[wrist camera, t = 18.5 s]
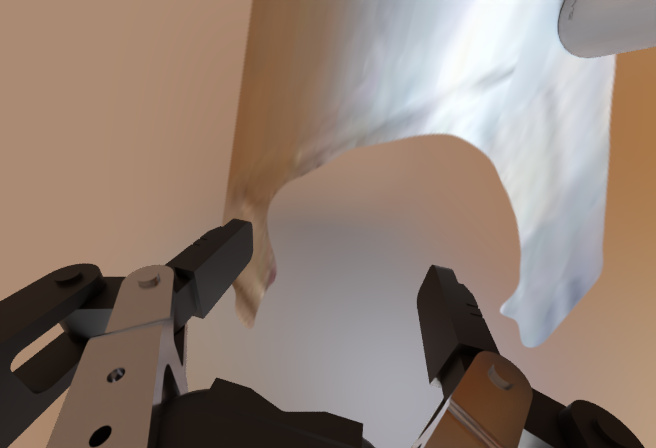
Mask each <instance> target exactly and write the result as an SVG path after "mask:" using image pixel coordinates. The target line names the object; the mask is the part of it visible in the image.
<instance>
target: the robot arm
mask: <svg viewBox="0 0 656 448" xmlns="http://www.w3.org/2000/svg"><path fill="white" fill-rule="evenodd" d="M559 37H560V41H561V43H562V45H563V46H564V48H565V49H566V50H567V51H568V52H570V53H571V54H573V55H575V56H578V57H583V58H594V57H601V56H607V55H612V54H617V53H623V52H629V51H634V50H640V49H646V48H651V47H656V0H565V3H564V5H563V8H562V10H561V14H560V19H559ZM252 254H253V229H252V223H251V222H248V221H244V220H239V219H232V220H231V221H230V222H228V223H227V224H226V225H225V226H223V227H221V226H220V227H217V228H215V229H213V230H210V231H208V232H207V233H206V234H204V235H203V236H202V237H200V239H198V240H197V241H195V242H194V243H193V245H190V246H189V247H187V248H186V249H185V250H184V251H182V252H181V253H180V254H179V255H177V256H176V257H175V258H173V259H172V260H171V261H169V262H168V263H167V264H166V265H152V266H147V267H143V268H140V269H138V270H136V271H134V272H132V273H131V274H129V275H128V276H127V277H103V276H102V273H101V271H100V269H99V267H98V266H96V265H93V264H75V265H71V266H67V267H64V268H61V269H58V270H56V271H54V272H52V273H49V274H48V275H46V276H44V277H42V278H41V279H39V280H37V281H35V282H34V283H32V284H30V285H28V286H27V287H25V288H23V289H21V290H19V291H18V292H16V293H14V294H12V295H11V296H9V297H7V298H5V299H4V300H2V301H0V448H7V447H8V446H9V445H10V444H11V443H12V442H13V441H14V440H15V439H17V437H18V436H20V435H21V434H22V433H23V432H24V430H26V429H27V428H28V427H29V426H30V425H31V424H32V423H33V422H34V420H36V419H37V418H38V417H39V416H40V415H41V414H42V413H43V412H44V411H45V410H46V409H47V408H48V407H49V406H50V405H51V404H52V403H53V402H54V401H55V400H56V399H57V398H58V397H59V396H60V395H61V394H62V393H63V392H64V391H65V390H66V389H67V388H68V387H69V386H70V388H69V390H68V393H67V396H66V398H65V401H64V403H63V406H62V408H61V411H60V413H59V416H58V419H57V421H56V424H55V427H54V429H53V431H52V434H51V436H50V439H49V442H48V444H47V447H46V448H375V447H374V446H373V445H372V444H371V443H370V442H369V441H367V440H366V439H364V438H363V437H362V432H363V424H362V423H359V422H356V421H353V420H350V419H347V418H344V417H340V416H337V415H334V414H331V413H328V412H285V411H281V410H280V409H279V408H277V407H276V406H274V405H273V404H272V403H270V402H269V401H267V400H266V399H265V398H263V397H262V396H261V395H259V394H258V393H256V392H255V391H254V390H252V389H251V388H248V387H245V386H242V385H239V384H235V383H232V382H229V381H226V380H223V379H220V378H216V379H215V381H214V382H213V384H212V386H211V388H210V389H203V390H196V391H192V392H188V387H187V386H188V385H187V378H186V359H187V358H186V357H187V321H188V320H189V319H190V318H191V316H196V317H199V318H202V319H203V318H205V316H206V315H207V314H208V313H209V311H210V310H211V309H212V308H213V306H214V305H215V304H216V303H217V302H218V300H219V299H220V298H221V297H222V295H223V294H224V293H225V292H226V290H227V289H228V288H229V287H230V285H231V284H232V283H233V282H234V280H235V279H236V278H237V277H238V275H239V274H240V273H241V272H242V271H243V269H244V268H245V267H246V266H247V264H248V263H249V262H250V260H251V257H252ZM417 309H418V315H419V321H420V328H421V334H422V340H423V346H424V352H425V358H426V365H427V371H428V377H429V383H430V385H432V386H436V387H439V388H442V390H443V395H444V398H443V399H442V400H441V402H440V403H439V405H438V406H437V408H436V409H435V411H434V412H433V414H432V416H431V417H430V419H429V420H428V422H427V423H426V425H425V427H424V428H423V430H422V432H421V433H420V434H419V436H418V438H417V439H416V441H415V442H414V444H413V445H412V447H411V448H644V446H643V445H642V444H641V442H640V441H639V440H638V438H637V437H636V436H635V435H634V434H633V433H632V432H631V431H630V430H629V429H628V428H627V427H626V426H625V425H624V424H623V423H622V422H621V421H620V420H618V419H617V418H616V417H615V416H613V415H612V414H610V413H609V412H608V411H606V410H605V409H603V408H601V407H599V406H598V405H596V404H594V403H591V402H589V401H585V400H576V401H574V402H573V403H571V404H570V405H568V406H567V407H566V406H564V405H562V404H561V403H559V402H557V401H555V400H553V399H551V398H550V397H548V396H546V395H544V394H542V393H540V392H538V391H536V390H535V389H533V388H531V386H530V383H529V382H528V380H527V378H526V377H525V375H524V374H523V373H522V372H521V371H520V370H519V368H517V367H516V366H515V365H514V364H513V363H512V362H511V361H509V360H508V359H506V358H504V357H503V356H501V355H500V353H499V351H498V349H497V347H496V344H495V342H494V340H493V338H492V336H491V334H490V331H489V329H488V327H487V324H486V322H485V320H484V318H482V314H481V311H480V309H478V305H477V302H476V300H475V298H474V296H473V294H472V293H470V291H469V290H468V289H467V288H466V287H465V286H464V284H459V283H458V281H457V279H456V276H455V274H454V272H453V270H452V269H449V268H445V267H440V266H436V265H432V266H431V267H430V268H429V270H428V272H427V274H426V277H425V279H424V281H423V283H422V285H421V287H420V290H419V293H418V296H417ZM57 323H59V324H60V325H61V327H62V328H63V330H64V332H63V333H62V334H61V335H59V336H58V337H57V338H56V339H54V340H53V341H52V342H50V343H49V344H48V345H47V346H45V347H44V348H43V349H42V350H40V351H39V352H38V353H37V354H35V355H34V356H33V357H32V358H30V359H29V360H28V361H27V362H25V363H24V364H23V365H21V366H20V367H19V368H18V369H16V370H15V371H14V372H12V371H11V369H10V366H11V363H12V361H13V359H14V358H15V356H16V355H17V354H18V353H19V352H20V351H21V350H23V349H24V348H25V347H27V346H28V345H29V344H31V343H32V342H33V341H35V340H36V339H37V338H39V337H40V336H41V335H43V334H44V333H45V332H47V331H48V330H50V329H51V328H52V327H53V326H55V325H56V324H57Z"/></svg>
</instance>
